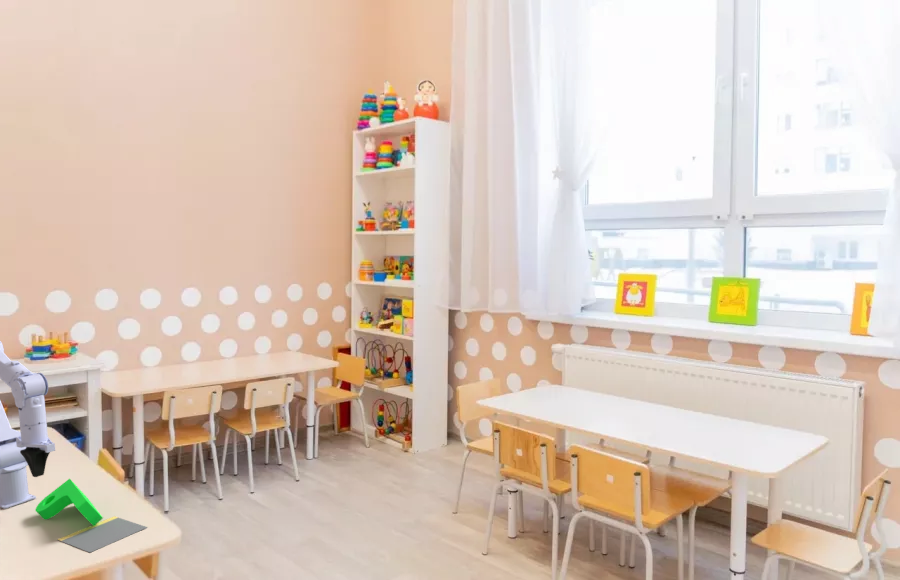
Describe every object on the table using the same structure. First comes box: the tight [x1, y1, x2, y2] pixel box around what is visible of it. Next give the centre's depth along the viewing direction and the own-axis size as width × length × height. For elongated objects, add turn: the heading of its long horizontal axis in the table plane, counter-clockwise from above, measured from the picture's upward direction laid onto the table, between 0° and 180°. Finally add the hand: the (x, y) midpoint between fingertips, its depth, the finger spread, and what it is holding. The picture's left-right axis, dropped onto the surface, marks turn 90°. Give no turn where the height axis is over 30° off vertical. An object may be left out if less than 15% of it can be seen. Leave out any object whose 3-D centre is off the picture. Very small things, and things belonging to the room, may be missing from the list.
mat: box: [57, 515, 148, 554], centre depth 160 cm, size 13×14×1 cm
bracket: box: [35, 478, 104, 526], centre depth 167 cm, size 20×10×7 cm
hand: (38, 475), depth 173 cm, fingers closed
